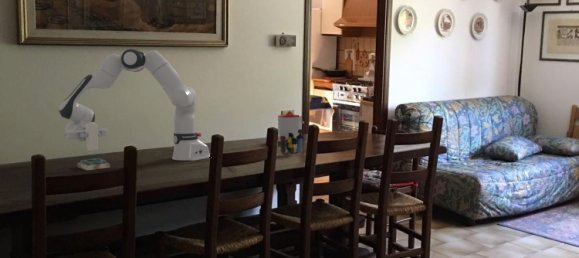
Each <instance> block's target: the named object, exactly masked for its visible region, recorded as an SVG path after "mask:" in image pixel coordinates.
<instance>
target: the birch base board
mask: <svg viewBox="0 0 579 258" xmlns="http://www.w3.org/2000/svg"><path fill="white" fill-rule="evenodd" d="M76 165H77V168H79V169H81V170H84V171H92V170H93V171H94V170H99V169H100V170H102V169H108V168H111V163H110V162H107V160H106V159H102V158H101V157H98V158H89V159H81V160H80V162H77V164H76Z"/></svg>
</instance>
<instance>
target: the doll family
mask: <svg viewBox="0 0 579 258" xmlns="http://www.w3.org/2000/svg"><path fill="white" fill-rule="evenodd" d="M304 132H305V131H304V130H303V129H302V128H301V129H299V130H298V133H299V135H298V136H297V137H296V138H295V137H294V135H293V133H288V134H289V135H288V136H289V138H288V139H287V140H285V139H286V137H285V136H281V137H279V139H280V138H281V140H282V141H281V140H280V142H278V145H279V146H280V154H279V156H281V157H284V156H285V155H286V154H288V156H294V155H296V154H295V153H302V152H303V148H302V146H303V141H304V140H305V139H306V138H305V137H304V135H303V133H304ZM295 146H296V151H295ZM286 150H287V151H286ZM285 153H286V154H285Z"/></svg>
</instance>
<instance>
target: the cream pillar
mask: <svg viewBox="0 0 579 258" xmlns="http://www.w3.org/2000/svg"><path fill="white" fill-rule="evenodd" d="M98 125H99V124H98V123H95V121H94V122H89V124H86V133H87V134H88V137H86V141H85V142H86V144H85V145H86V151H89V152H90V151H91V152H92V151H99V137H98Z"/></svg>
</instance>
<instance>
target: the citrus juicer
mask: <svg viewBox="0 0 579 258" xmlns="http://www.w3.org/2000/svg"><path fill="white" fill-rule="evenodd" d="M302 118H303V116H302V115H299V114H294V113H293V112H292V111H291V110H289V111H287V113H285V114H279V115H277V130H279V133H278V137H279V140H280V142H281V141H282V140H281V138H280V137H281V136H285V137H286V139H285V140H287V139H288V138H289V136H288V135H289V134H288V133H293V135H294V137H295V138H296V137H297V136H298V135H299V133H298V130H299V129H302V125H303V124H305V122H304V120H303V119H302Z"/></svg>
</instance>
